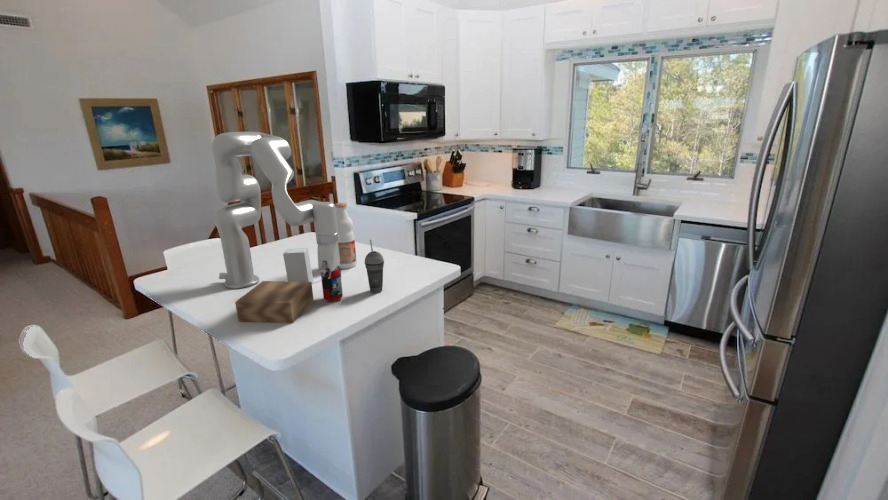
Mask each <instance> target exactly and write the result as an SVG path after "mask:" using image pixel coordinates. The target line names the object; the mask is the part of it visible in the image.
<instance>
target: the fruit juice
mask: <svg viewBox="0 0 888 500" xmlns="http://www.w3.org/2000/svg"><path fill="white" fill-rule="evenodd" d="M334 205H335V208H336V217H337V226H338V236H339V242H338V247H339V254H340V269H342V270H346V269H352V268H355V266H356V265H357V251H356V238H355V232H354V231H353V229H354V221H353V219H352V218H351V217H350V215H349V214H348V211H347V206H348V205H347V202H346V203H345V202H339V203H334Z"/></svg>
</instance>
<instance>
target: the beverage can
mask: <svg viewBox="0 0 888 500" xmlns="http://www.w3.org/2000/svg"><path fill="white" fill-rule="evenodd" d="M326 270H329V269H326ZM327 274H328V273H327ZM331 278H332V285H333V289H332V290H324V289H323V281H322V277H320V280H321V288H322V297H323V300H324V301H327V302H330V303H332V302H337V301H340V300H341V299H342V298H343V296H344V295H343V286H342V285H343V283H342V282H343V281H342V271H341V272H340V270H339V268H338V267H337V268H336V269H335V270H334V271H332V272H331Z"/></svg>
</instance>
